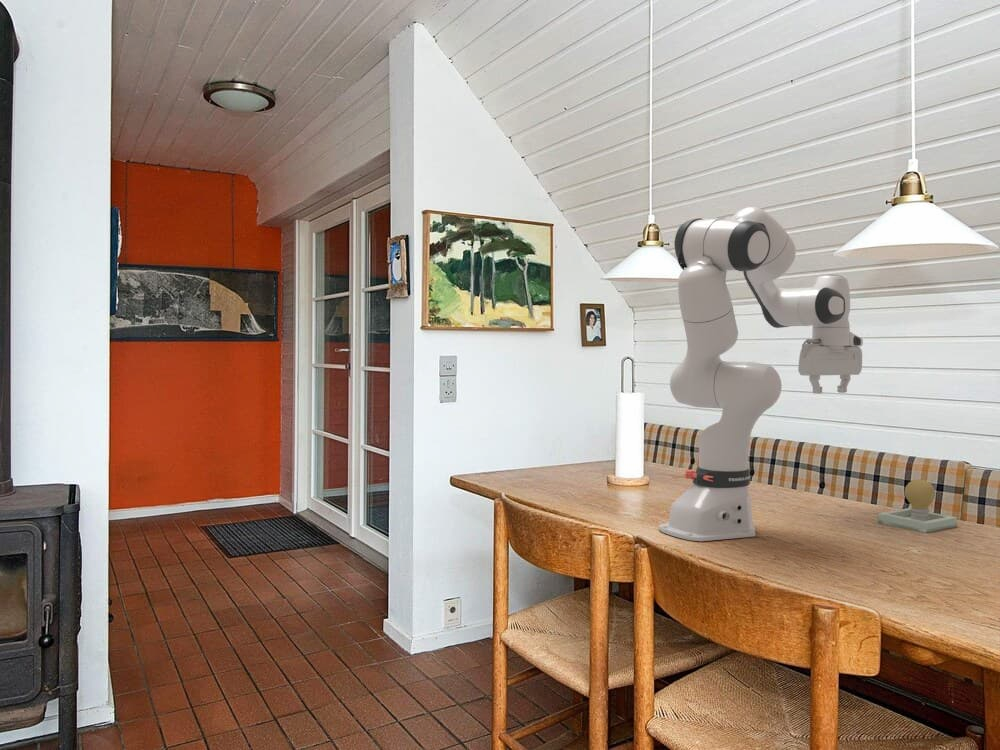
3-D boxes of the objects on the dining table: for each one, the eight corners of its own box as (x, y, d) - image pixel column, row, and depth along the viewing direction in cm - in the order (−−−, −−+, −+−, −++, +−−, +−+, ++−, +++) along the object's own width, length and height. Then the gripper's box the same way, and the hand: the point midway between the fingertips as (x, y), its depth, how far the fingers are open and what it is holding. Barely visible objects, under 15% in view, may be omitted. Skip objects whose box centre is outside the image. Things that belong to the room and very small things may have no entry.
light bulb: (904, 522, 184) (904, 481, 183) (904, 517, 189) (904, 476, 189) (935, 525, 181) (935, 483, 180) (934, 519, 186) (935, 478, 186)
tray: (926, 532, 176) (926, 523, 176) (877, 522, 187) (877, 513, 187) (956, 526, 182) (957, 517, 182) (908, 516, 192) (908, 508, 192)
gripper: (813, 338, 191) (812, 394, 191) (867, 339, 201) (866, 392, 201) (792, 339, 196) (791, 393, 197) (846, 339, 206) (845, 391, 207)
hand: (829, 393), depth 199 cm, fingers open, 8 cm apart
